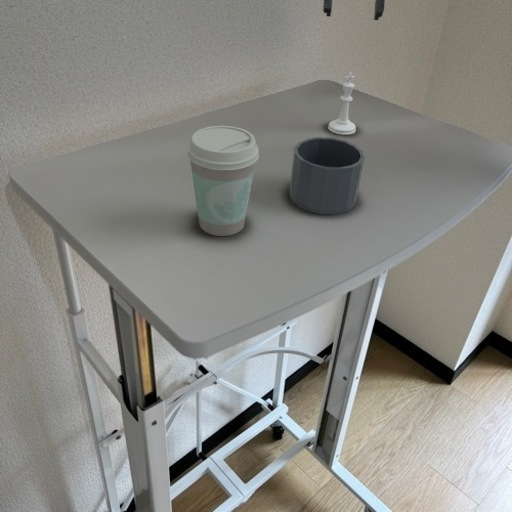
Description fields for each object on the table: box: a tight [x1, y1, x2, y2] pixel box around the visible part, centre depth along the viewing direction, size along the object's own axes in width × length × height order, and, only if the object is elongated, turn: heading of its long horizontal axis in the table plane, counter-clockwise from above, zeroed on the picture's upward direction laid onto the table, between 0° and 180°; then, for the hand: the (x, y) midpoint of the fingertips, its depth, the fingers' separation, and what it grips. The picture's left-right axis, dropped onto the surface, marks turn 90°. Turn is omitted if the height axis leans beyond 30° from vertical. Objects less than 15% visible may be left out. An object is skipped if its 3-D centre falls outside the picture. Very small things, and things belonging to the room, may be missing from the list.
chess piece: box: [327, 72, 357, 136], centre depth 95 cm, size 5×5×10 cm
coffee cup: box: [186, 125, 260, 237], centre depth 68 cm, size 8×8×12 cm
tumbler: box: [289, 136, 365, 216], centre depth 76 cm, size 9×9×7 cm
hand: (353, 15), depth 97 cm, fingers open, 8 cm apart
